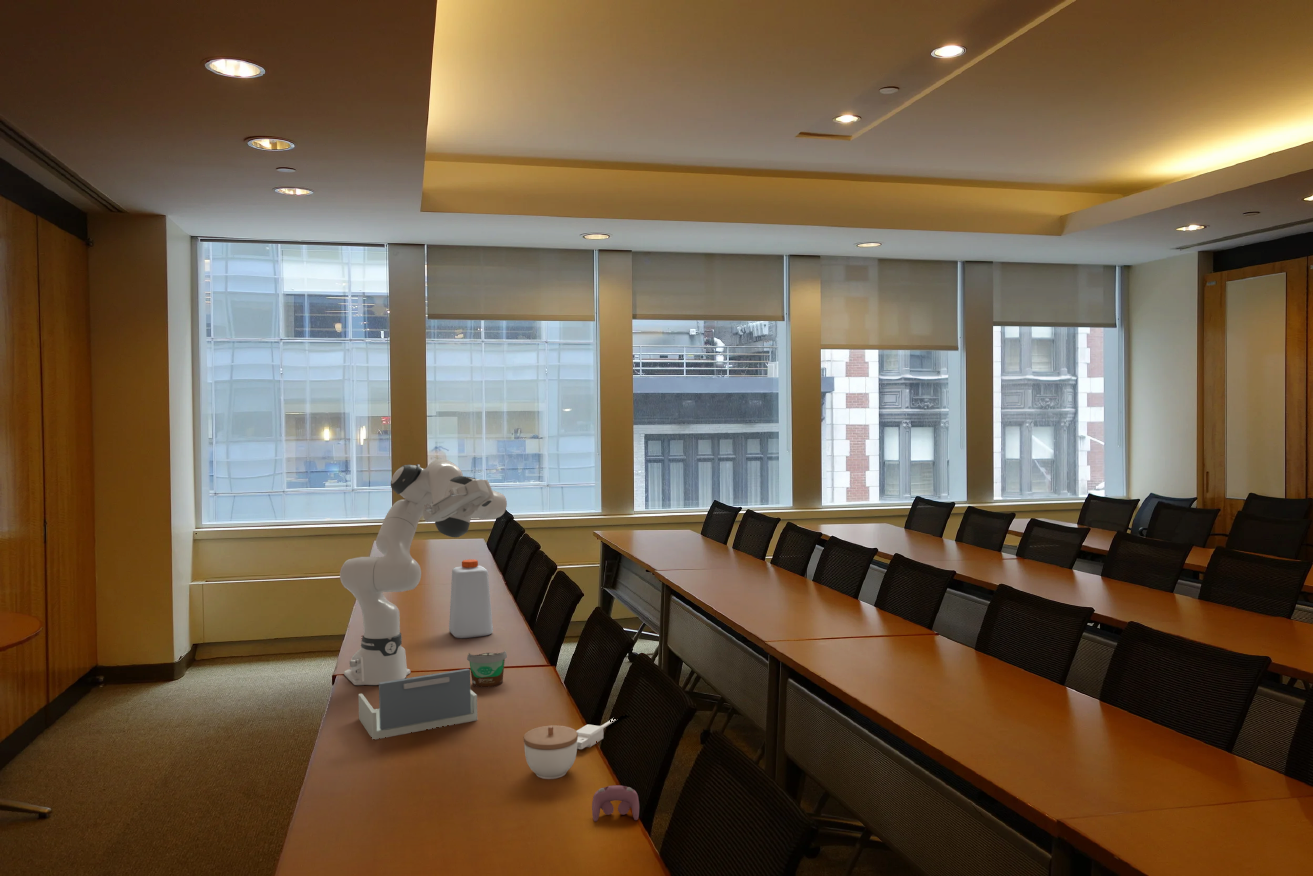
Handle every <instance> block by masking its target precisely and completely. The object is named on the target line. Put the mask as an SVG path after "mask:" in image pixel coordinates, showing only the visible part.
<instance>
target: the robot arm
mask: <svg viewBox="0 0 1313 876" xmlns="http://www.w3.org/2000/svg"><path fill="white" fill-rule="evenodd" d="M390 488H391V489H392V490H393V491H394V492H395V493H396V494H397V495H400V496H401V497H402V498H404V499H399V500H397V501H395V502H394V503H393V505H392V506H391V507H390V509H389V510H388V512H386V515H385V517H384V519H383V522H382V523H381V525H380V526H381V527H380V528H379V531H378V533H377V536H376V538H375V545H376V548H377V549H378V551H379V552H380V553H381V554H382V555H384V556H357V557H353V558H349V559H347V560H345V562H344V563H343V564H342V566H341V567H340V571H339V579H340V582H341V584H342V586H343V588H344V589H347V590H348V591H349V592H350V594H352V595H353V597H354V598H355V600H356V601H357V602H358V605H359V607H360V610H361V614H362V625H363V627H362V628H363V635H361V636H360V637H361V641H360V642H361V643H360V648H359V649H358V650H356V652H355V653H354V654H353V655H352V657H351V660H349V667H350V668H348V669H346V670H344V672H343V675H344V676H345V677H346V678H347V679H348V680H349V681H350V682H351V683H352V684H353V685H354V686H364V685H366V686H379V683H380V682H386V681H393V680H399V679H405V678H407V676H408V675H410V674H411V669H409V668H408V666H407V656H406V655H407V654H406V649H405V648H404V647H403V646H402V644H403V643H402V640H403V637H402V633H401V632H400V631H401V630H400V629H401V624H400V620H401V619H400V616H401V615H400V609H399V608H398V606H397V605H396V604H394V603H392V602H390V601H389V600H388V599H387V598H386V596H385V595H384V593H401V592H406V591H412V590H415V588H417V586H418V585H419V583H420V582H421V580H422V579H421V578H422V569H421V565H420V563H418V561H416V559H414V558H413V557H412V555H411V547H412V543H413V539H414V537H415V536H416V535H415V534H416V532H417V529H418V524H419V522H420V520H421V518H422V517H423V519H424V521H425V522H427V523H434V525H435V527H436V529H437V530H438V532H439V533H441V534H443V535H444V536H446V537H449V538H450V537H451V538H460V537H462V536H464V535H465V534H467V533H468V531H469V528H470V524H471V523H470V522H471V521H472V520H471V519H480V520H493V519H498V518H500V517H502V516H503V515H504V514H505V512H506V510H507V507H508V506H507V505H508V503H507V498H506V496H505V495H504V494H503V493H501V492H499V491H496V490H493V489H492V486H491V485H490V482H489V481H488V479H478V478H475V477H473V476H472V477H471V476H465V475H463V472H462V470H461V469H460V467H459V466H458V465H457V464H455V463H453V462H452V461H449V460H447V459H435V460H433V461H431V462H430V463H429V464H428V465H427V466H426V468H422V467H421V465H420V464H418V463H417V464H415V465H414V464H403V465H401V466H400V467H399V468H398V469H397V470H396V471H395V472H394V474H393V475H392V477H391V480H390Z"/></svg>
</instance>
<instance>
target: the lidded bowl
mask: <svg viewBox="0 0 1313 876" xmlns="http://www.w3.org/2000/svg"><path fill="white" fill-rule="evenodd" d="M576 731H577V730H576V729H574V728H573V727H570V726H567V725H566V726H565V725H558V724H556V725H543V726H537V727H535V728H532V729H529V730H528V731H526V732H525V733H524V735H523V744H524V745H523V746H524V755H525V756H524V757H525V760H526V764H527V765H528V767H529V769H530V770H531V771H532V772H533V773H534V774H535V775H536V777H538V778H540V779H543V780H555V779H560V778H562V777H564V776H566V774H567V772H568V771H570V769H571V768H572V767H573V765H574V763H575V761H576V758H577V751H578V749H577V739H578V733H577V732H576Z"/></svg>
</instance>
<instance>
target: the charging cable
mask: <svg viewBox="0 0 1313 876" xmlns="http://www.w3.org/2000/svg"><path fill="white" fill-rule="evenodd" d="M610 720H611V722H610ZM610 720H608V721H607V722H605V723H603V724H602V725H594V724H586V725H584V726H582V727H580V728H579V729H577V730H576V732H577V733H578V739H577V750H583V749H585V748H591V747H592V746H595V745H596V744H597V743H599V742H600V741H601V740H604V729H605V728H606V727H608V726H609V725H611V724H612V723H615V721H617V720H616V719H614V720H613V718H611V719H610ZM612 721H613V722H612ZM596 741H597V743H596Z"/></svg>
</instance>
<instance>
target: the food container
mask: <svg viewBox="0 0 1313 876" xmlns="http://www.w3.org/2000/svg"><path fill="white" fill-rule="evenodd" d="M507 658H508V653H507V651H506V650H504V651H503V652H485V653H479V654H471V653H470V652H468V654H467V658H466V660H467V662H469V668H470V678H471V684H472V686H474V687H476V688H480V689H481V688H486V689H487V688H489V689H490V688H495V687H498V686H501V685H502V684H503V683H504V682H503V681H504V674H505V673H504V672H505V671H504V670H505V661H506V659H507Z"/></svg>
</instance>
